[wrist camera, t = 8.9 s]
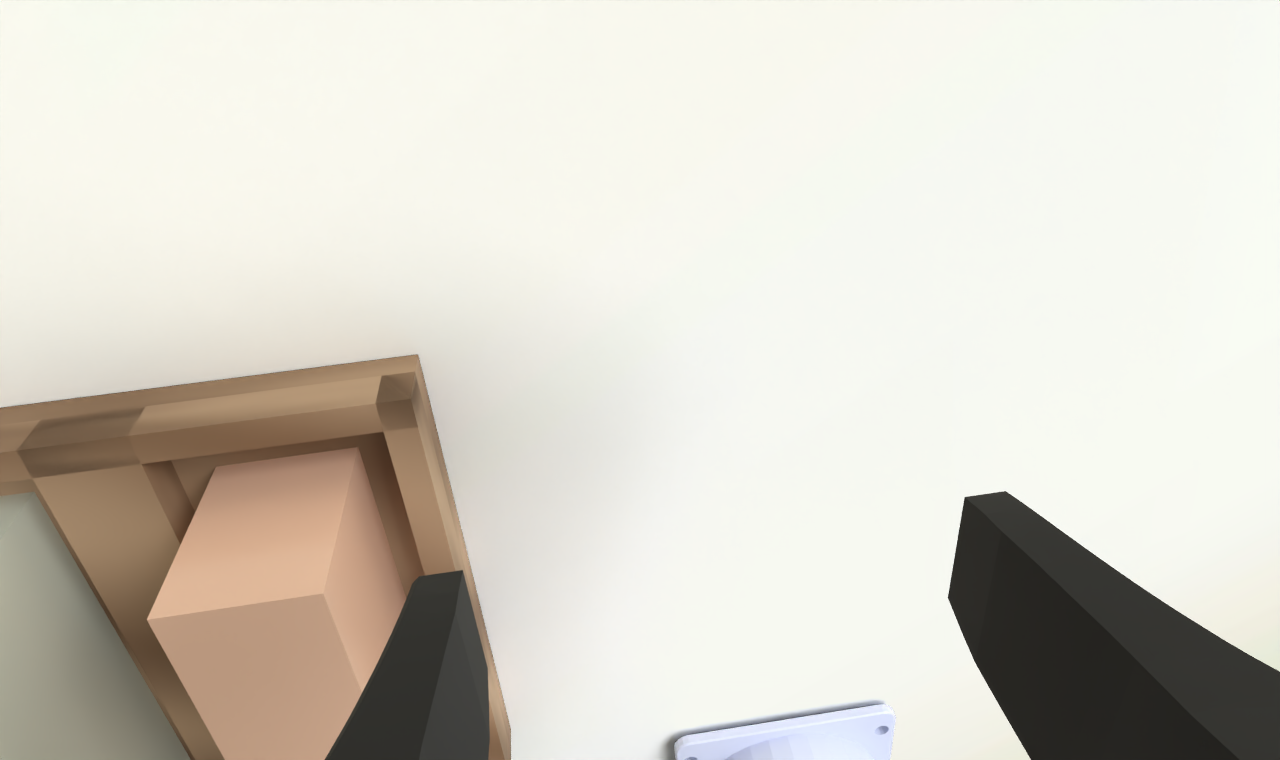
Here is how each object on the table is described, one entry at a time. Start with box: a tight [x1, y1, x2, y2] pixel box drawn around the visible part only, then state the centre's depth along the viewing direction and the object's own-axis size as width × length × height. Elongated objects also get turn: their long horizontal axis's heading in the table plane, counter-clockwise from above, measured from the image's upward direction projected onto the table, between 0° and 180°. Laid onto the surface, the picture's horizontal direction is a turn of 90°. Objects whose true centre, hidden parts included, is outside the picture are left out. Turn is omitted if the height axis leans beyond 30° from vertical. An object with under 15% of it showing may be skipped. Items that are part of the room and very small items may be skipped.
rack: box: [0, 355, 511, 760], centre depth 24 cm, size 15×15×2 cm
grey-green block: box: [0, 492, 191, 760], centre depth 22 cm, size 11×4×5 cm, turn 4°
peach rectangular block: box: [147, 447, 406, 760], centre depth 23 cm, size 11×4×5 cm, turn 5°
